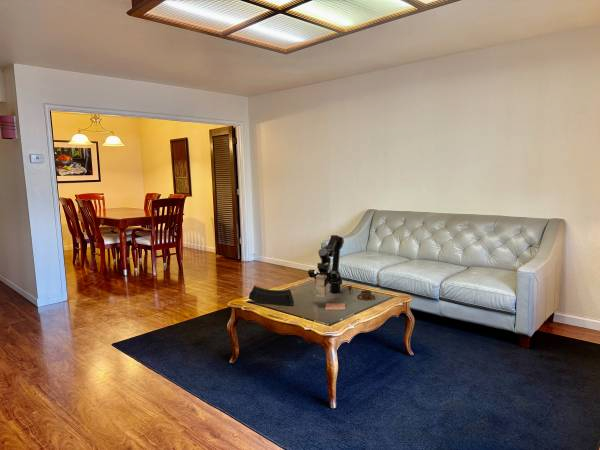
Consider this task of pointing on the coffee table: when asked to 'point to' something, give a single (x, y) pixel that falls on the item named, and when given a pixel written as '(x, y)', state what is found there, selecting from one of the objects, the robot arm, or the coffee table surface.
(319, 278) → the birch block
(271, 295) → the black flat curved piece
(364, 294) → the place setting
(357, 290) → the coffee table surface
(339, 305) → the terracotta mat
